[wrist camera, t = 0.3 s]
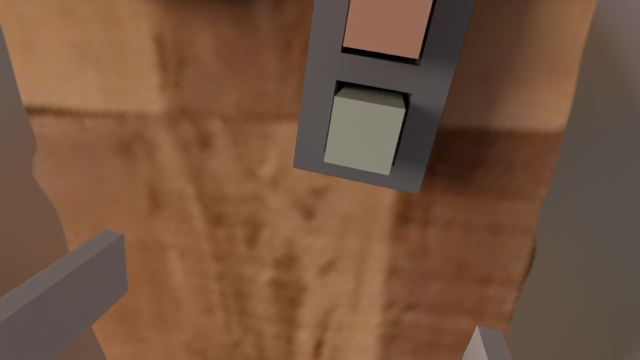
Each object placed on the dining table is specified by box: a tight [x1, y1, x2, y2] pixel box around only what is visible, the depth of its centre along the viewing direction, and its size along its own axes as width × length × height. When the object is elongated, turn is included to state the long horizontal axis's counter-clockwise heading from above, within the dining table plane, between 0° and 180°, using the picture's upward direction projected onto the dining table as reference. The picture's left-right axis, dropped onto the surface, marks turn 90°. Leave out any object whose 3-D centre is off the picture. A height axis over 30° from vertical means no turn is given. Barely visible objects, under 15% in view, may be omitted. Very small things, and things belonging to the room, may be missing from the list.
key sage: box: [324, 84, 405, 175], centre depth 27 cm, size 5×5×8 cm
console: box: [293, 0, 476, 194], centre depth 27 cm, size 26×11×6 cm, turn 171°
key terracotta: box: [343, 0, 433, 59], centre depth 24 cm, size 5×5×8 cm
